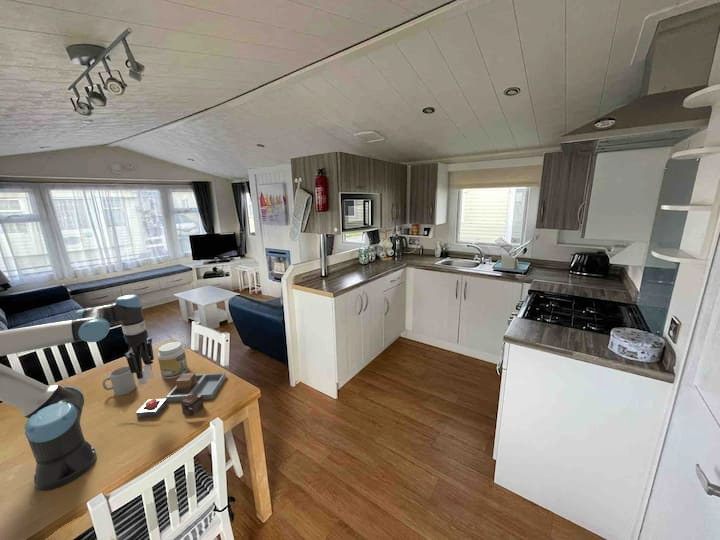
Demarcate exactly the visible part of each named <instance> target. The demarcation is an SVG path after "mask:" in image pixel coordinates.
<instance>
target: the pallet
mask: <svg viewBox="0 0 720 540" xmlns="http://www.w3.org/2000/svg"><path fill="white" fill-rule="evenodd" d="M195 375H196V381H197V384H196V385H195V386H194V388H193V389H192V390H191V391H190V393H179V394H178V389H177V384H176V385H175V386H174V387H173V388H172V389H171V391H170V392H169V393H168V394H167V395H166V396H165V399H167V403H168V402H181V401H182V400H183V399H184V398H186V397H187V396H188V395H190V394H191V393H194V394H199V395H202V398H203V401H205V400H213V399H214V398H215V396H216V394H217V393H218V391H219V390H220V388H221V386H222V385H223V383H224V382H225V380H226V379H227V373H226V372H219V373H217V372H216V373H199V374H196V373H195Z"/></svg>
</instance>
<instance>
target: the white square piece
mask: <svg viewBox="0 0 720 540" xmlns="http://www.w3.org/2000/svg"><path fill="white" fill-rule="evenodd" d="M150 400H152V398H151V399H148V400H146V402H144V403H143V405H141V407H140V408H139V409H138V410H137V411H136V413H135V414H136V418H137V419H141V418H142V419H143V418H157V417H158V416H159V415H160V414H161V412H162V411H163V410H164V409H165V408H166V407H167V405H168V402H167V399H166V398H156V400H157V404H158V405H157V406H156V407H155V409H147V408H146V403H147V402H148V401H150Z"/></svg>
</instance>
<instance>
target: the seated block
mask: <svg viewBox="0 0 720 540" xmlns="http://www.w3.org/2000/svg"><path fill="white" fill-rule="evenodd" d="M175 382H176V383H175V384H176V385H177V389H178V394H179V393H190V391H191V390H192V389H193V388H194V386H195V385H196V384H197V381H196V373H195V372H188V373H186V372H185V373H184V374H182V375H180V376H178V378H177V379H176V381H175Z"/></svg>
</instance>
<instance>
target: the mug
mask: <svg viewBox="0 0 720 540" xmlns="http://www.w3.org/2000/svg"><path fill="white" fill-rule="evenodd" d="M134 375H135V374H134V373H131V371H130V368H129V365H128V366H122V367H119V368H116V369H114V370H112V371H111V372H110V374H109V376H107V377H105V378H103V380H102V383H101V384H102V388H103V389H104V391H105V390H106V391H110V390H111V391H112V390H113V393H114V395H115V396H117V397H119V396H125V395H127V394H130V393H132V392H134V391H135V390H136V389H137V384H136V380H135V376H134ZM107 381H111V386H107V385H106V382H107Z"/></svg>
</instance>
